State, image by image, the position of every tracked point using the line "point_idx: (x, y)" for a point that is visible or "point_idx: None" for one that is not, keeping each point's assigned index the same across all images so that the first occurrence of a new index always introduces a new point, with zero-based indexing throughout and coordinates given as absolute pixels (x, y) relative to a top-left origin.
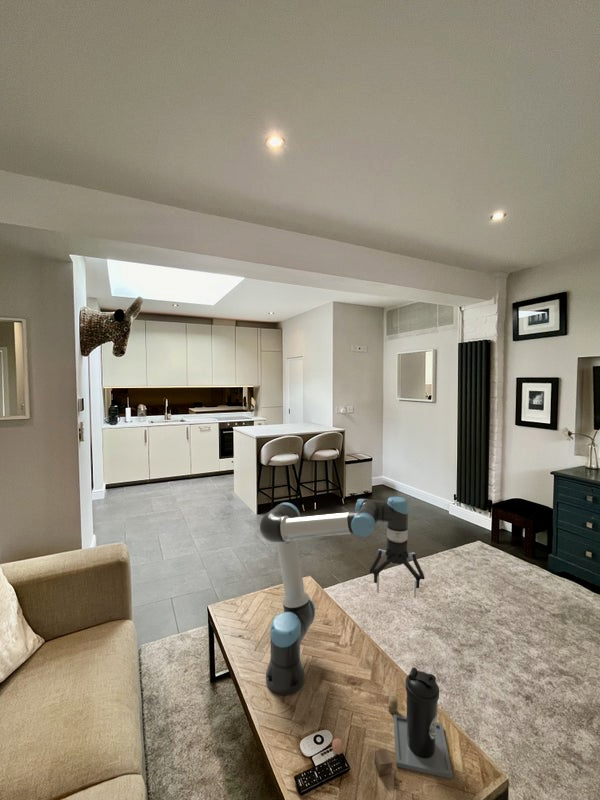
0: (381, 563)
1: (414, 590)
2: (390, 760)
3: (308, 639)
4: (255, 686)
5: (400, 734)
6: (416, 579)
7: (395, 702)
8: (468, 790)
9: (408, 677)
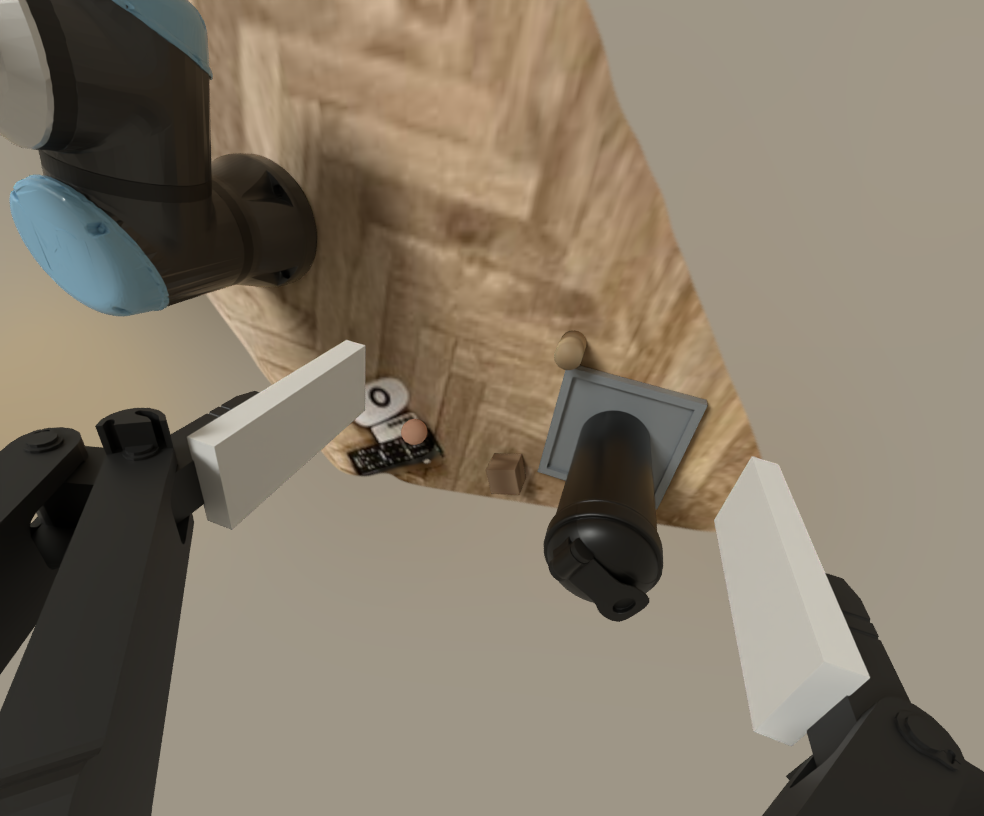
0: (50, 644)
1: (731, 588)
2: (516, 491)
3: None
4: None
5: (570, 413)
6: (804, 765)
7: (571, 368)
8: (680, 523)
9: (554, 547)
